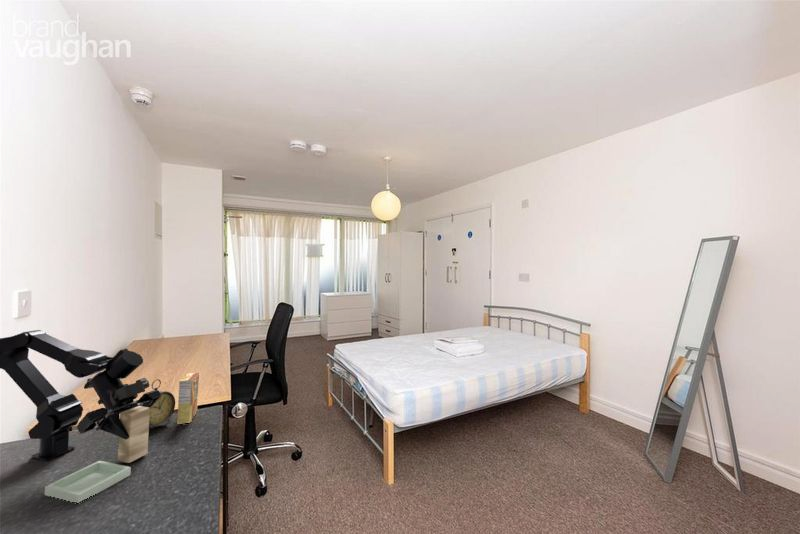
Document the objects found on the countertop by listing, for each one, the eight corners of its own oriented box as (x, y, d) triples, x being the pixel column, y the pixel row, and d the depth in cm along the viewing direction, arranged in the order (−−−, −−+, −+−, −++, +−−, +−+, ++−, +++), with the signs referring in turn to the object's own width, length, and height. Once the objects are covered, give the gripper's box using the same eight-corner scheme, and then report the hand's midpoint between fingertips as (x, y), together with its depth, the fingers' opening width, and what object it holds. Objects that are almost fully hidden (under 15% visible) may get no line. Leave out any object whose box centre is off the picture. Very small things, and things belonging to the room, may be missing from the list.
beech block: (117, 460, 87) (120, 412, 88) (136, 451, 92) (139, 405, 93) (128, 463, 86) (131, 414, 87) (147, 453, 91) (149, 407, 92)
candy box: (184, 415, 118) (186, 373, 118) (197, 413, 119) (199, 372, 120) (176, 425, 110) (178, 380, 110) (190, 424, 111) (192, 379, 111)
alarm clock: (145, 436, 102) (147, 385, 103) (131, 434, 103) (133, 384, 104) (175, 421, 113) (177, 375, 113) (163, 419, 114) (164, 374, 114)
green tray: (44, 495, 74) (45, 486, 74) (99, 468, 85) (99, 460, 85) (78, 504, 72) (78, 495, 72) (130, 475, 82) (130, 467, 82)
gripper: (87, 381, 82) (117, 431, 79) (158, 363, 100) (185, 403, 97) (64, 409, 84) (92, 458, 81) (138, 386, 102) (163, 425, 99)
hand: (137, 433), depth 89 cm, fingers closed on beech block, 5 cm apart
